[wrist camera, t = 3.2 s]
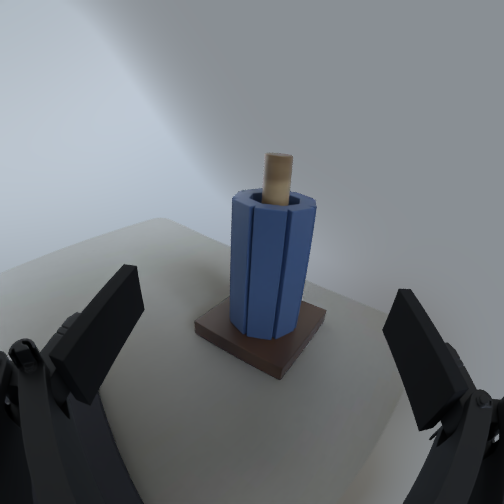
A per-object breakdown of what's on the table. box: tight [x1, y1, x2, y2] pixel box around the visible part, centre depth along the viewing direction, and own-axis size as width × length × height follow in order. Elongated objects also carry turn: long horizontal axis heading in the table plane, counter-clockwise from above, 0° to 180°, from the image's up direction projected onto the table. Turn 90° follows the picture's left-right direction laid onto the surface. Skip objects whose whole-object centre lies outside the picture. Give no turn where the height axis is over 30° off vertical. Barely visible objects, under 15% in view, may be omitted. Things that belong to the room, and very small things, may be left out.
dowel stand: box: [194, 153, 326, 380], centre depth 22 cm, size 9×9×16 cm
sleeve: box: [230, 188, 317, 340], centre depth 22 cm, size 6×6×11 cm
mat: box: [5, 392, 144, 504], centre depth 10 cm, size 14×12×1 cm
